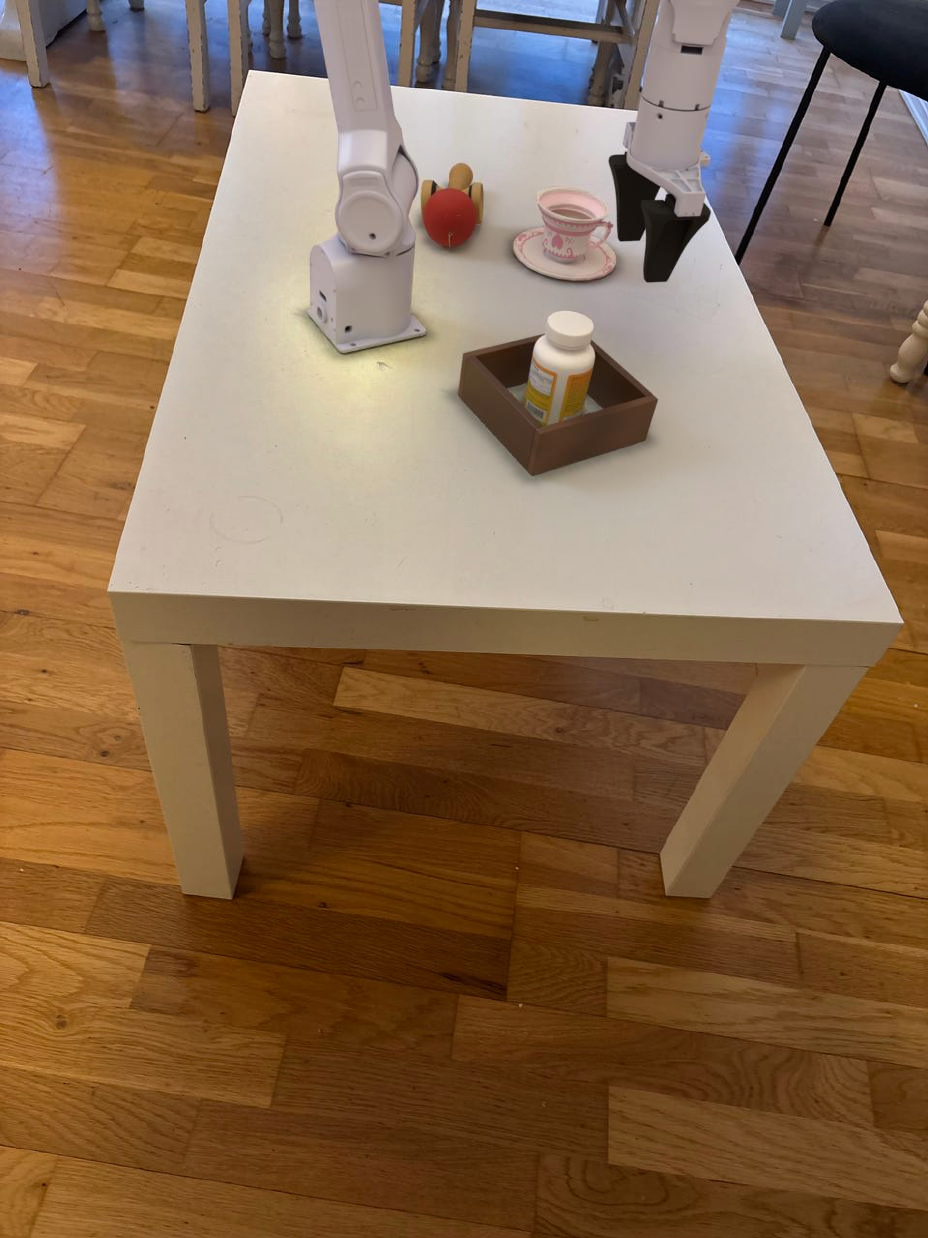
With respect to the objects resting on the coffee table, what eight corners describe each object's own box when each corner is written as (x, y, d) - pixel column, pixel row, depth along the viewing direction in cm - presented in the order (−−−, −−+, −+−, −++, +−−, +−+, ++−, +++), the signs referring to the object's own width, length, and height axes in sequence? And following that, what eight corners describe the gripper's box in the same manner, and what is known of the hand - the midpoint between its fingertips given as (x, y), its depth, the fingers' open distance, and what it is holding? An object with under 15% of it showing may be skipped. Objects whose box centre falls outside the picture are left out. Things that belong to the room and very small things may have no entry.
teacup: (493, 258, 103) (501, 203, 98) (540, 221, 110) (549, 168, 105) (589, 294, 99) (602, 239, 95) (631, 253, 107) (644, 201, 102)
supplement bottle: (580, 404, 86) (602, 310, 78) (579, 439, 82) (602, 344, 75) (523, 396, 86) (540, 301, 78) (520, 430, 82) (538, 334, 75)
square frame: (531, 476, 78) (540, 433, 75) (457, 395, 85) (462, 352, 81) (645, 440, 83) (658, 399, 80) (567, 366, 90) (576, 325, 86)
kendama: (421, 193, 114) (405, 240, 101) (435, 140, 110) (420, 182, 97) (480, 213, 115) (472, 263, 102) (496, 162, 111) (490, 206, 98)
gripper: (758, 132, 70) (711, 297, 80) (690, 66, 79) (656, 221, 89) (671, 134, 68) (635, 301, 79) (613, 66, 78) (587, 223, 88)
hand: (641, 259), depth 84 cm, fingers open, 7 cm apart
